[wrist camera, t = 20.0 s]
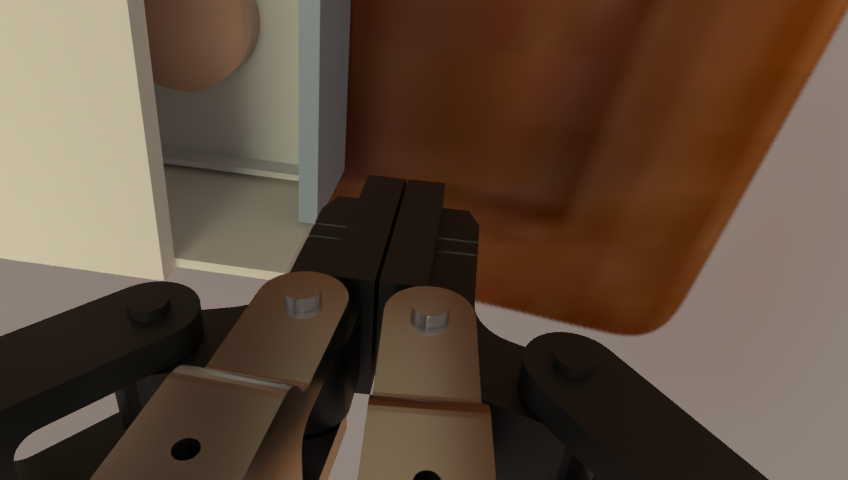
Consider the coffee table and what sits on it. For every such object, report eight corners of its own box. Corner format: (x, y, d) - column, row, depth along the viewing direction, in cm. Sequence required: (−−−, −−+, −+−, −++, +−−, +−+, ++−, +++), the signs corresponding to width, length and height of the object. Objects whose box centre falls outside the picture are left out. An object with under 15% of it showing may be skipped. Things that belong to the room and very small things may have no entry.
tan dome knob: (133, -70, 27) (102, -64, 25) (263, -40, 27) (244, -31, 25) (138, 60, 30) (110, 75, 28) (255, 87, 30) (237, 104, 28)
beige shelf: (3, -217, 27) (-291, -266, 17) (354, -178, 26) (265, -204, 16) (71, 135, 34) (-100, 244, 25) (342, 170, 34) (277, 296, 24)
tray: (8, -197, 26) (-107, -212, 21) (356, -158, 25) (322, -163, 20) (72, 134, 33) (-3, 181, 28) (344, 170, 32) (317, 224, 28)
